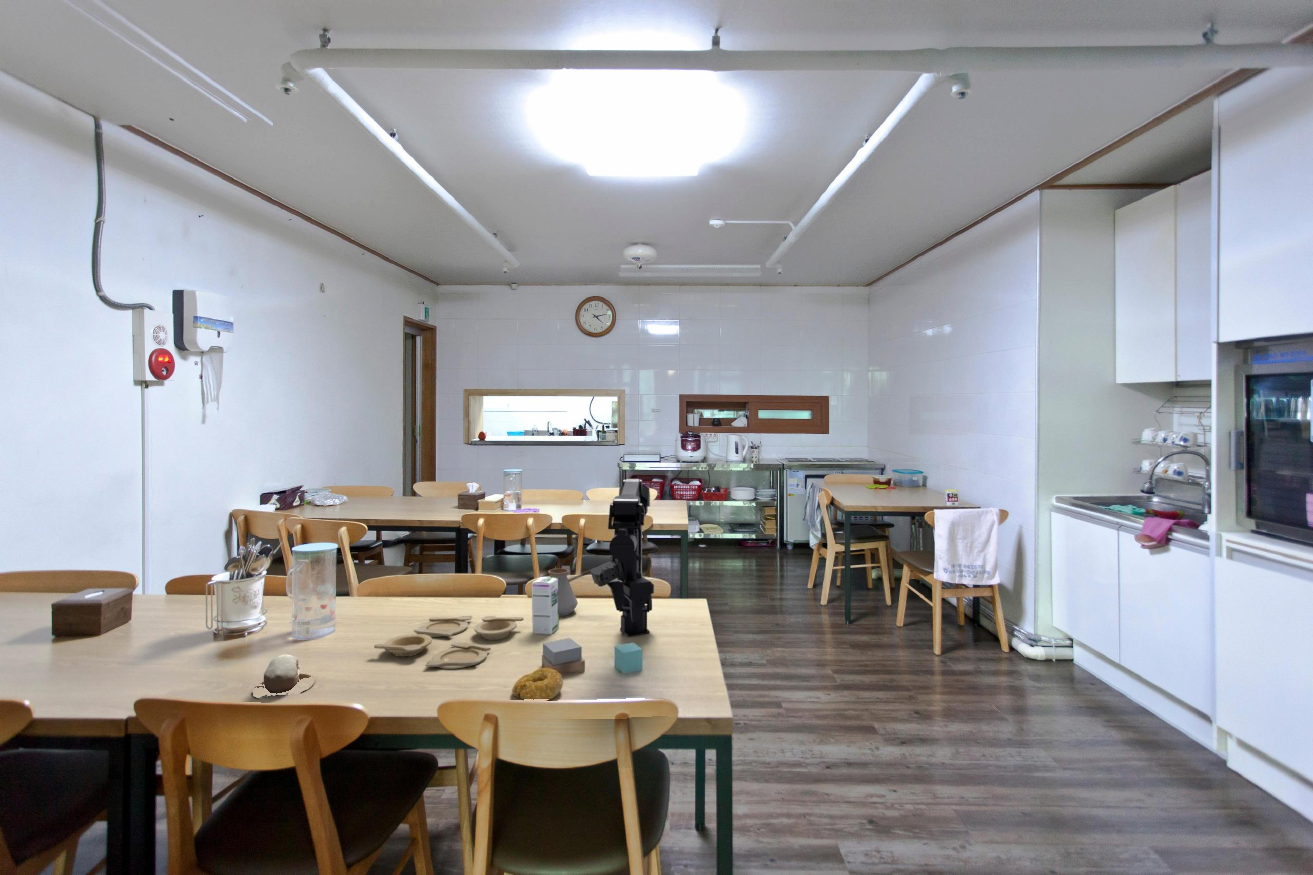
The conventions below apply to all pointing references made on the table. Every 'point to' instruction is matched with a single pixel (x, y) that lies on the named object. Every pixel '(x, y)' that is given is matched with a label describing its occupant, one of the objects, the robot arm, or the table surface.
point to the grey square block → (562, 651)
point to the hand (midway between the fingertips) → (626, 615)
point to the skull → (282, 674)
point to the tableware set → (462, 652)
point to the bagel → (538, 684)
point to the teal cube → (628, 658)
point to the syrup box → (545, 605)
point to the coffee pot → (565, 590)
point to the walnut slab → (565, 666)
